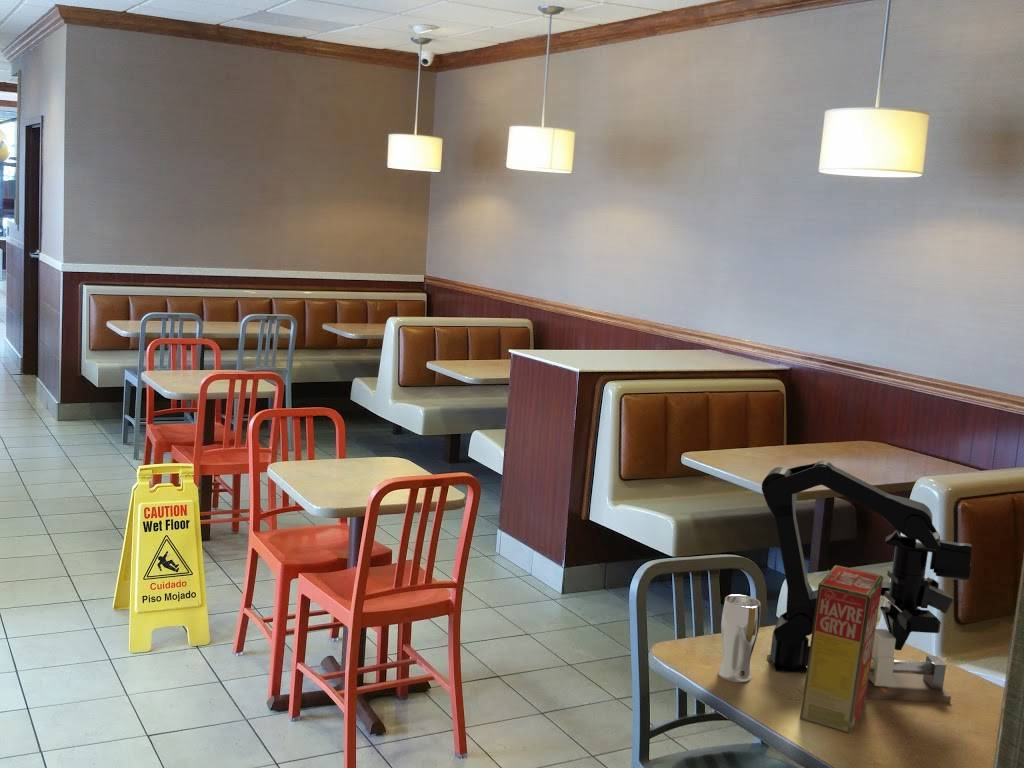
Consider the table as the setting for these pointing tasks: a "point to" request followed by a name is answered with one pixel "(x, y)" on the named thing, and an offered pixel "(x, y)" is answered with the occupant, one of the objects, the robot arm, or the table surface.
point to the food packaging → (841, 648)
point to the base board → (907, 689)
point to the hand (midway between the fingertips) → (897, 649)
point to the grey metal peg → (921, 670)
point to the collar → (883, 658)
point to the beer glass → (738, 636)
